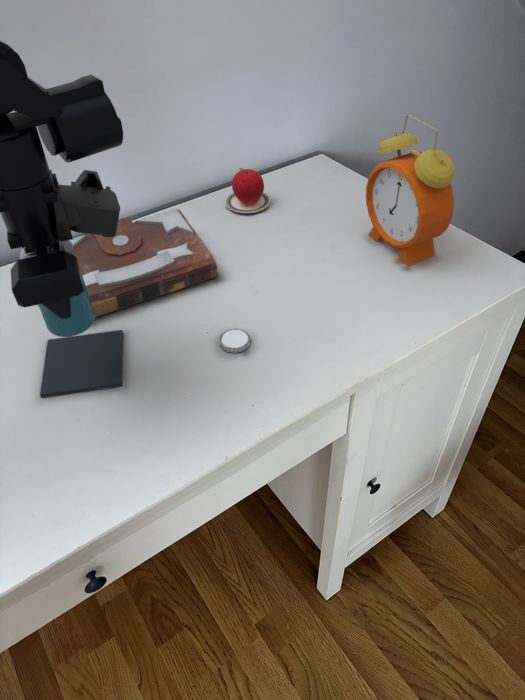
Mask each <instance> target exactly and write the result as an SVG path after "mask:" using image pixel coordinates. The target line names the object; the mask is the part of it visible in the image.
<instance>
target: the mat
mask: <svg viewBox="0 0 525 700" xmlns="http://www.w3.org/2000/svg"><path fill="white" fill-rule="evenodd" d="M45 349H46V350H45V357H44V364H43V370H42V377H41V383H40V384H41V385H40V391H39V396H40V398H42V399H43V398H47V397H55V396H62V395H69V394H76V393H82V392H91V391H97V390H105V389H111V388H112V389H113V388H118V387H123V371H124V370H123V365H124V362H123V359H124V357H123V355H124V354H123V353H124V352H123V351H124V332H123V329H118V330H110V331H102V332H94V333H88V334H78V335H75V336H70V337H59V338H58V337H57V338H50V339H47V343H46V348H45Z"/></svg>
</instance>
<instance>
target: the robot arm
mask: <svg viewBox="0 0 525 700" xmlns="http://www.w3.org/2000/svg"><path fill="white" fill-rule="evenodd" d="M123 142H124V129H123V123H122V120H121V117H119V116H118V114H117V111H116V109H115V107H114V104H113V102H112V101H111V99H110V97H109V96H108V94H107V93H106V91H105V87H104V82H103V80H102V79H100V78H99V77H97V76H96V75H93V74H88V75H84V76H81V77H79V78H77V79H76V80H73V81H71V82H67V83H63V84H59V85H56V86H52V87H47V88H45V87H43V86H42V85H40V84H39V83H37V81H35V80H33V79H32V78H30V77H29V76H28V73H27V69H26V65H25V63H24V61H23V60H22V58H21V56H20V54H19V53H18V52H16V51H15V50H14V49H13V48H12V47H11V46H10V45H9V44H7V43H6V42H4V41H3V40H2V39H0V216H1V218H2V221H3V223H4V226H5V228H6V238H7V240H6V241H7V243H8V246H9V248H10V250H14V249H15V250H16V249H20V248H22V249H23V248H24V251H25V255H26V256H32V255H35V254H36V255H37V256H35V257H30V258H25V259H20V258H19V259H17V260H16V261H15V262H14V264H13V265H12V267H11V268H10V284H11V285H10V286H11V287H10V288H11V293H12V294H13V297H14V299H15V302H16V304H17V306H19V307H21V308H29V307H33V306H38V304H42V305H44V306H45V307H46V308H48V309H49V310H50V311H52V312H53V313H54V314H56V315H57V316H58V317H59V318H61V319H66V318H70V317H71V305H70V297H74V296H78V295H80V294H81V293H82V292H83V291H84V287H83V282H82V277H81V273H80V269H79V264H78V262H77V259H76V256H74V255H72V254H70V253H68V252H66V251H61V245H60V241H61V242H62V241H67V240H72V239H73V238H74V237H73V234H72V232H75V233H79V234H85V235H87V234H88V235H92V234H97V235H102V236H103V237H114V236H115V235H116V231H117V225H118V220H119V219H120V213H121V206H120V202H119V200H118V196H117V193H115V191H113V190H112V189H111V186H108V185H106V186H105V188H104V186H103V183H102V180H101V178H100V176H99V173H98V171H96V170H89V169H83V170H82V172H81V173H80V174H79V176H78V177H77V178H76V179H75V181H70V185H69V184H60V183H59V180H58V178H57V174H56V173H53V172H52V169H50V167H49V162H48V161H47V160H48V159H47V156H46V153H45V150H44V147H45V148H46V150H47V152H48V153H49V154H50V155H51V156H53V157H54V156H58V155H59V156H60V157H61V159H62V160H63V161H64V162H66V163H72V162H75V161H78V160H81V159H84V158H88V157H90V156H93V155H96V154H99V153H103V152H104V151H108V150H111V149H114V148H117V147H121V146H122V144H123ZM43 145H44V147H43ZM49 246H50V249H51V253H49ZM35 249H36V251H35ZM35 252H36V253H35Z"/></svg>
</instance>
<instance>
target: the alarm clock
mask: <svg viewBox="0 0 525 700" xmlns="http://www.w3.org/2000/svg"><path fill="white" fill-rule="evenodd" d="M408 117H410V118H411V119H413V120H415V121H418V122H419V123H421V124H422V125H425V126H426V127H428V128H430V129H432V130H434V131H435V139H434V143H433V144H434V145H433V148H431V149H427V150H424V151H418V150H416V149H414V148H412V149H411V150H410V152H409V153H406V154H402V150H404V149H407V148H411V147H414V146H416V145H419V141H418V139H417V137H416V136H415V135H414V134H413V133H408V132H407V133H405V132H406V131H405V130H406V127H407V122H408ZM438 135H439V130H438V128H435V127H433V126H431V125H430V124H427V123H426V122H423V121H422V120H420V119H418V118H417V117H414V116H413V115H411V114H407V115H406V116H405V119H404V125H403V129H402V132H401V133H398V131H397V130H396V131H393V136H391V137H389V138H386V139H384V140H382V141H381V142H380V144H379V146H378V156H381V155H384V154H389V153H393V152H396V153H397V156H396V157H393V158H390V159H387V160H384V161H381V162H379V164H378V165H376V166H374V168H373V169H372V170H371V172H370V174H369V175H368V179H367V183H366V187H365V204H366V209H367V214H368V217H369V219H370V222H371V225H372V228H371V230H370V231H369V233H368V237H369V238H371V239H373V241H375V242H379V241H381V240H383V241H384V242H385V243H386V244H387V245H390V246H391V247H393V248H395V249H397V254H398V260H399V261H400V262H402V263H403V264H404V265H405V266H407V267H411V266H414V265H416V264H418V263H421V262H423V261H425V260H428V259H431V258H433V257H435V256H436V254H435V253H436V252H435V245H434V244H435V243H434V238H438V237H439V236H440V237H441V236H442V235H443V234H444V233H445V232H446V231H447V229H448V228H449V226H450V225H451V222H452V219H453V216H454V207H455V197H454V192H453V186H452V184H451V182H452V181H453V178H454V177H455V174H456V167H455V163H454V161H453V159H452V157H450V155H449V154H448V153H447V152H445V151H443V150H440V149H437V144H438V143H437V142H438Z"/></svg>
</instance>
